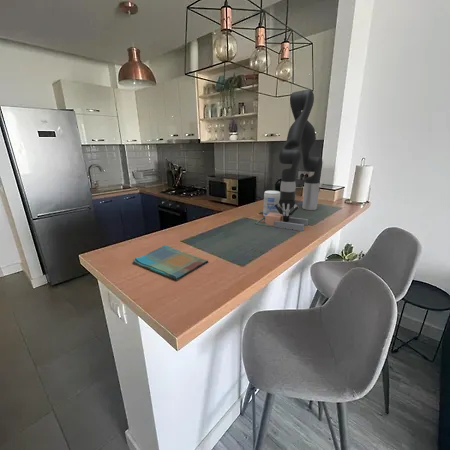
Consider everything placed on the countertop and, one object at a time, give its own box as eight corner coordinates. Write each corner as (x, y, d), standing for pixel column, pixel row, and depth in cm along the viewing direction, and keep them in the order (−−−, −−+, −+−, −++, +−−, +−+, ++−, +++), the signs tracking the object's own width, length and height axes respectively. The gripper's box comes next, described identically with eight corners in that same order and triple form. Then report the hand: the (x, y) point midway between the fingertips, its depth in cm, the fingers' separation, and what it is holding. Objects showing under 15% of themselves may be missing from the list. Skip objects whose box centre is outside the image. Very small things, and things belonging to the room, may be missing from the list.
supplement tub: (267, 218, 144) (268, 193, 140) (260, 214, 153) (261, 191, 148) (282, 217, 147) (283, 192, 142) (274, 213, 156) (275, 189, 151)
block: (269, 220, 141) (269, 212, 140) (283, 222, 138) (283, 214, 136) (265, 224, 135) (265, 215, 134) (279, 226, 132) (280, 217, 130)
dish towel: (167, 249, 106) (166, 243, 106) (209, 263, 93) (209, 257, 93) (132, 264, 93) (131, 258, 92) (176, 283, 80) (175, 276, 79)
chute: (280, 220, 140) (280, 215, 139) (307, 224, 133) (308, 219, 132) (273, 226, 131) (274, 221, 130) (302, 231, 124) (303, 225, 123)
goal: (262, 218, 145) (262, 217, 145) (279, 220, 141) (279, 219, 140) (255, 224, 136) (255, 223, 135) (272, 226, 131) (272, 225, 131)
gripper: (302, 189, 127) (299, 221, 133) (277, 188, 134) (275, 218, 139) (299, 192, 121) (296, 225, 127) (273, 190, 127) (271, 222, 133)
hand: (285, 222), depth 133 cm, fingers closed
